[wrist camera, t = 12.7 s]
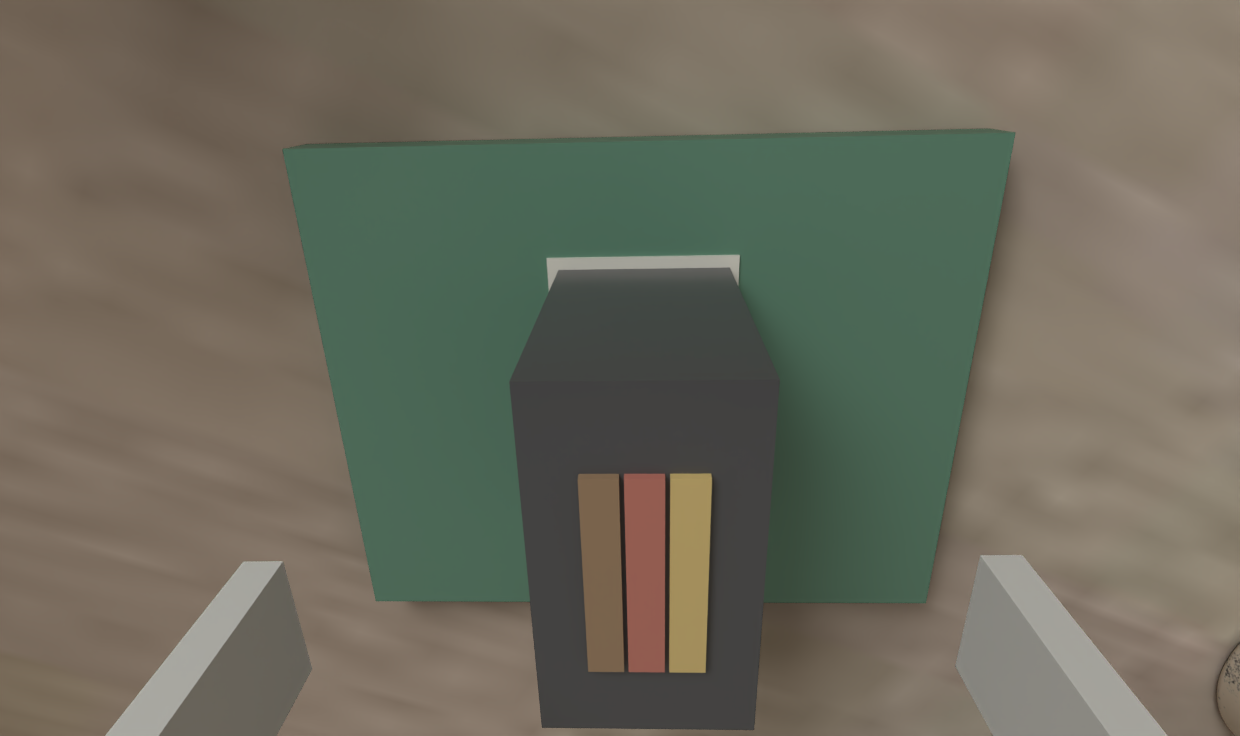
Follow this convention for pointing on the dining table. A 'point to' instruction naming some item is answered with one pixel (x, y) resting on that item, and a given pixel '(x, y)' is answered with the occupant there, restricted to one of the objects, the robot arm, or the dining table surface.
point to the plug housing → (646, 497)
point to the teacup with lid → (1230, 692)
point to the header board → (650, 239)
